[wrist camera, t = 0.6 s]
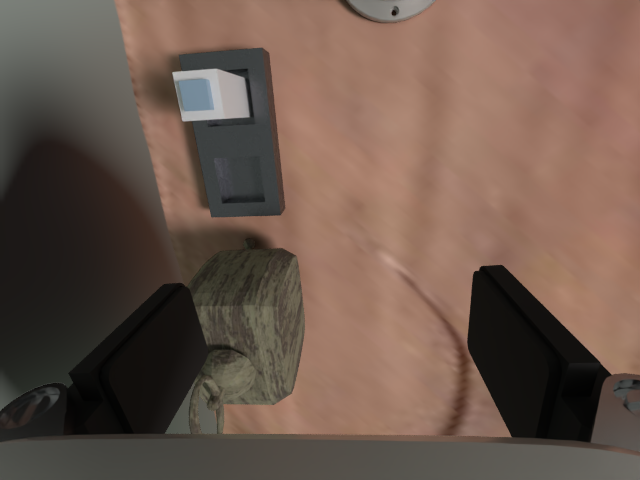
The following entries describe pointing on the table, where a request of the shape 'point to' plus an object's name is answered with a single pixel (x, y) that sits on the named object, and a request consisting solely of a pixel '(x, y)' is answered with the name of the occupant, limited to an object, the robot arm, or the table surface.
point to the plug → (212, 95)
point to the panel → (241, 140)
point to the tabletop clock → (247, 329)
